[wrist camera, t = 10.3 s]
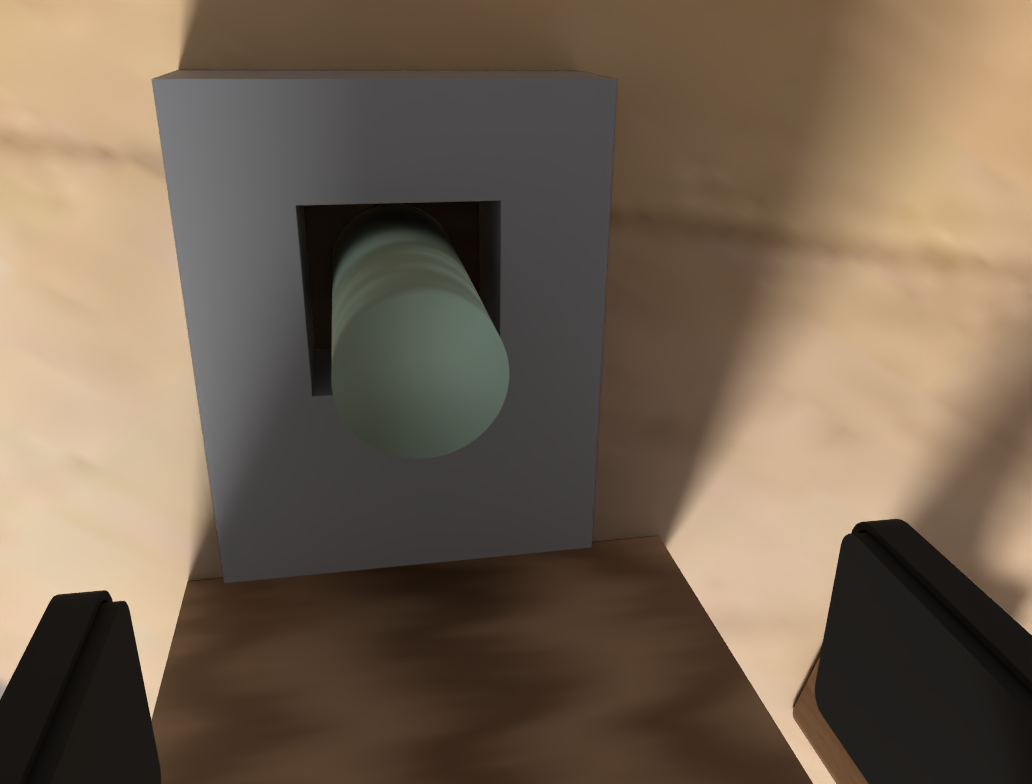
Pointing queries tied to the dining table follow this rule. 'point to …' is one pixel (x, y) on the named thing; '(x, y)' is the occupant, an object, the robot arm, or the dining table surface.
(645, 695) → the brown notched wall
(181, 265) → the socket block
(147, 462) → the dining table surface
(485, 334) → the peg
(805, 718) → the wooden block
